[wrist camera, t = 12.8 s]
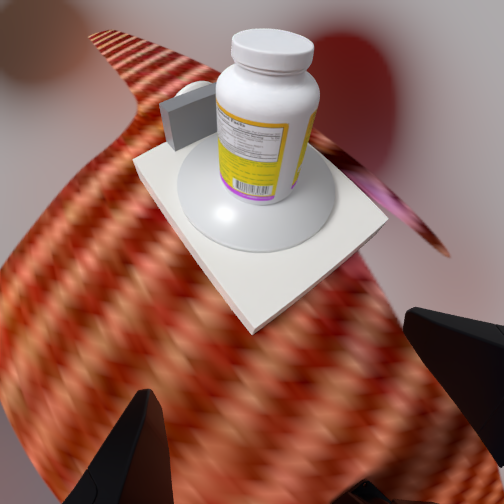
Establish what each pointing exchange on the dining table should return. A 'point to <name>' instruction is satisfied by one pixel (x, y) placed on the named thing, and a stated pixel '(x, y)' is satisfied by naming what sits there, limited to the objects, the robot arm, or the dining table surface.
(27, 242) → the dining table surface
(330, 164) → the kitchen scale
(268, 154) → the supplement bottle
